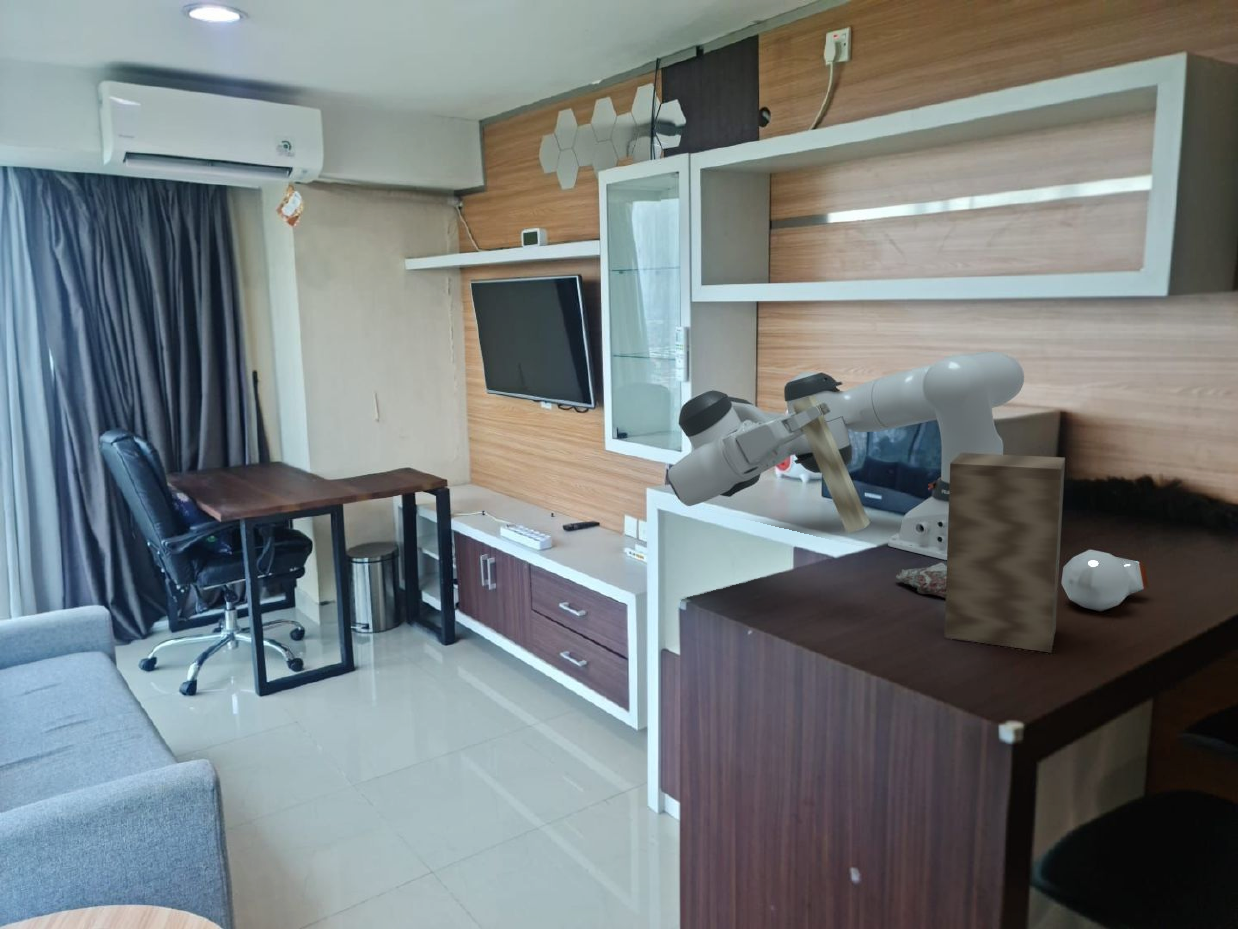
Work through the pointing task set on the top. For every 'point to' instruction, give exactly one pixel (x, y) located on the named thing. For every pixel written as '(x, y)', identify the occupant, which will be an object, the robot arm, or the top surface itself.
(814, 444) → the birch bar
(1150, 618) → the top surface
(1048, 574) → the walnut block
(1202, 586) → the top surface
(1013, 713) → the top surface
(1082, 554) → the potion bottle
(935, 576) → the mineral rock
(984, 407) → the robot arm
